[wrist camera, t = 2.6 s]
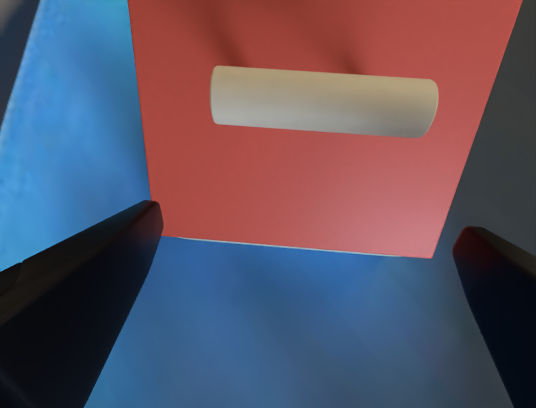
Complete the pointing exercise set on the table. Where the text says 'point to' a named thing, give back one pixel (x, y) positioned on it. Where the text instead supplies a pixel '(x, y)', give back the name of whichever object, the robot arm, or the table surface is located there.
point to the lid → (313, 116)
